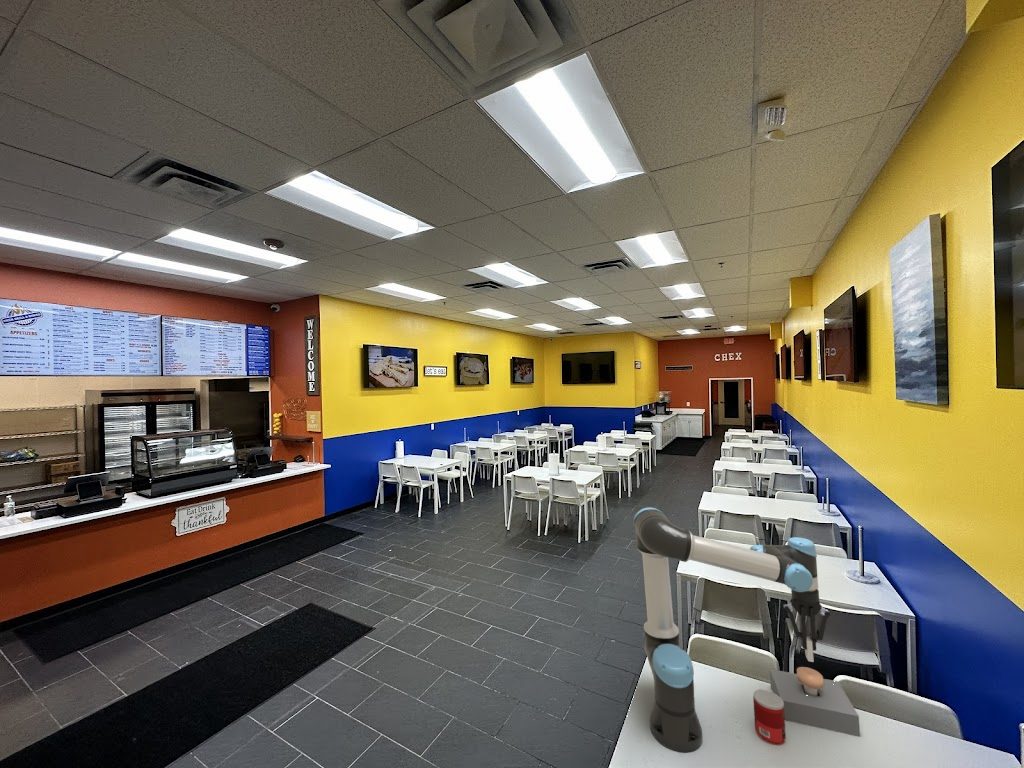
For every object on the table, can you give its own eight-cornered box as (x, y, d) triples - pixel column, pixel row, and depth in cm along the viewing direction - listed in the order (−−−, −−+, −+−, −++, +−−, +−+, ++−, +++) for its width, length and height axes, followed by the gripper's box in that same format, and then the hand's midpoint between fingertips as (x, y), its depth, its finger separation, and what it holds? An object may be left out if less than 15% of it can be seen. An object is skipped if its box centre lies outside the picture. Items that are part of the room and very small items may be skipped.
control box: (782, 719, 130) (781, 700, 130) (770, 686, 144) (769, 669, 145) (860, 736, 122) (858, 716, 123) (839, 699, 137) (838, 681, 137)
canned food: (790, 747, 119) (788, 709, 120) (760, 743, 121) (758, 705, 121) (779, 726, 127) (777, 690, 127) (751, 723, 128) (749, 687, 129)
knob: (801, 703, 132) (800, 678, 132) (795, 688, 138) (794, 665, 138) (827, 708, 129) (826, 683, 129) (820, 693, 136) (818, 669, 136)
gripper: (784, 589, 134) (789, 662, 133) (832, 594, 129) (838, 670, 128) (778, 579, 141) (783, 648, 140) (824, 584, 136) (829, 656, 135)
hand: (809, 659), depth 134 cm, fingers closed
